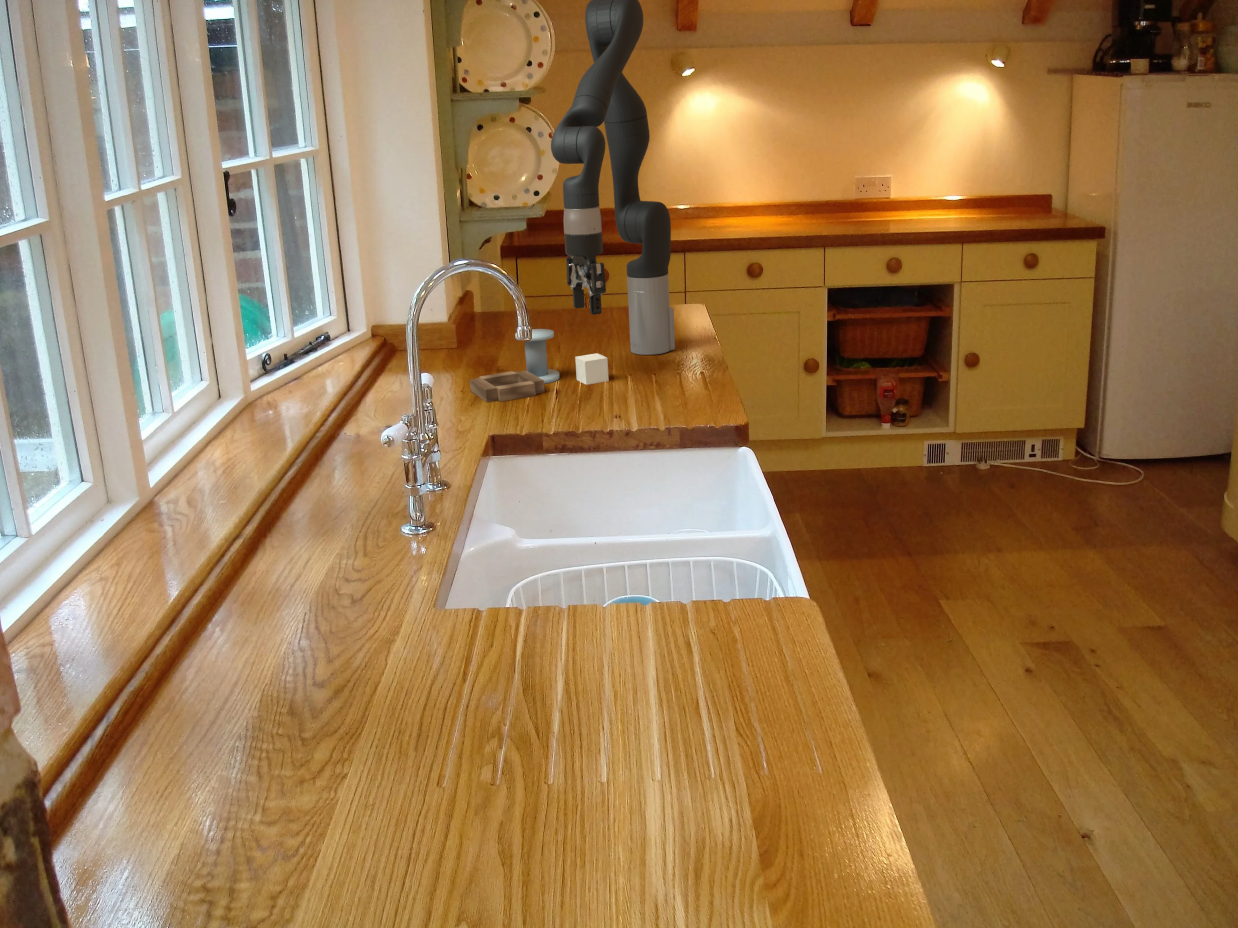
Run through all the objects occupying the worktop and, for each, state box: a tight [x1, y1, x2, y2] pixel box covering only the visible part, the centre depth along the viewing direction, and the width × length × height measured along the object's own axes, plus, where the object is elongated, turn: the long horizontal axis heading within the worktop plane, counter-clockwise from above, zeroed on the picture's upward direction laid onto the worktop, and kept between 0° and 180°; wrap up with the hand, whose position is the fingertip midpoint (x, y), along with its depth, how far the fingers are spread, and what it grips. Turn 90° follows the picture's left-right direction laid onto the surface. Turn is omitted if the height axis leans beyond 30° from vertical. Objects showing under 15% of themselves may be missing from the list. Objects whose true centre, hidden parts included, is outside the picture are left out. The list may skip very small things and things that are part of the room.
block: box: [574, 352, 610, 386], centre depth 251 cm, size 5×5×5 cm
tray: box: [469, 370, 545, 403], centre depth 246 cm, size 12×12×2 cm
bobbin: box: [514, 328, 560, 385], centre depth 253 cm, size 9×9×10 cm
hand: (587, 311), depth 247 cm, fingers open, 8 cm apart
